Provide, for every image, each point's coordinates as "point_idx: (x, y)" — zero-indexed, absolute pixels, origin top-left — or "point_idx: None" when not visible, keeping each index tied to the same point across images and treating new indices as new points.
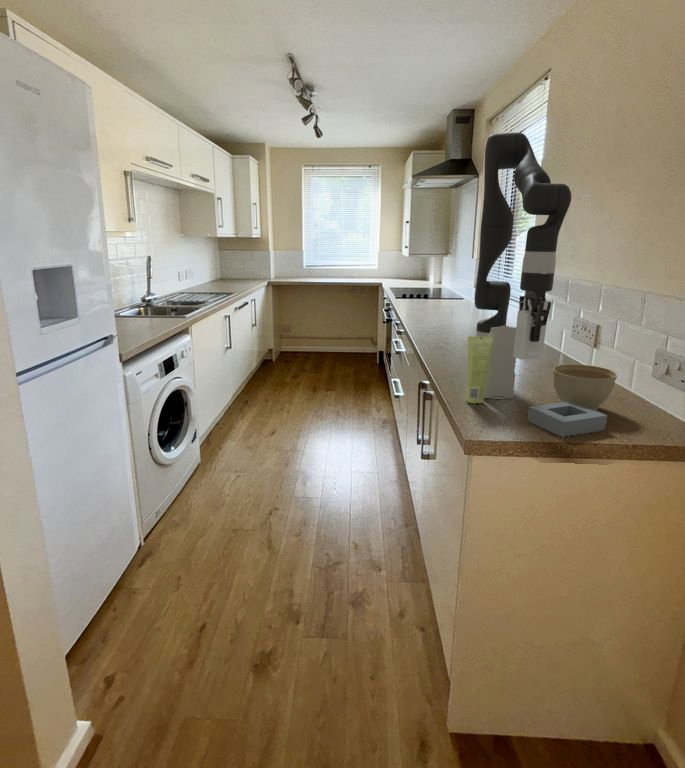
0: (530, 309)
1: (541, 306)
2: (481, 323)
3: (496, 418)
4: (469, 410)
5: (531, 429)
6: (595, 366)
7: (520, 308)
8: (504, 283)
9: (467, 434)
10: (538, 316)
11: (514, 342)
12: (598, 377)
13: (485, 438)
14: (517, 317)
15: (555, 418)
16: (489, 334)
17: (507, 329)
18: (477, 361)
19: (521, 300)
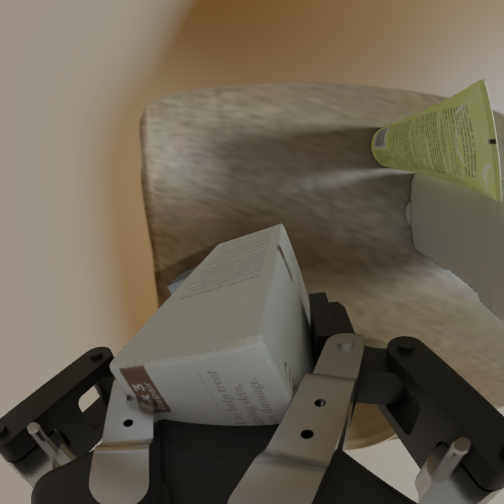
0: (116, 414)
1: (5, 422)
2: None
3: (272, 170)
4: (322, 119)
5: (211, 230)
6: (395, 434)
7: (442, 392)
8: None
9: (169, 97)
10: (53, 380)
11: (493, 292)
12: (380, 424)
13: (153, 129)
14: (261, 299)
15: (186, 277)
16: None
17: None
18: (424, 131)
19: (478, 452)
